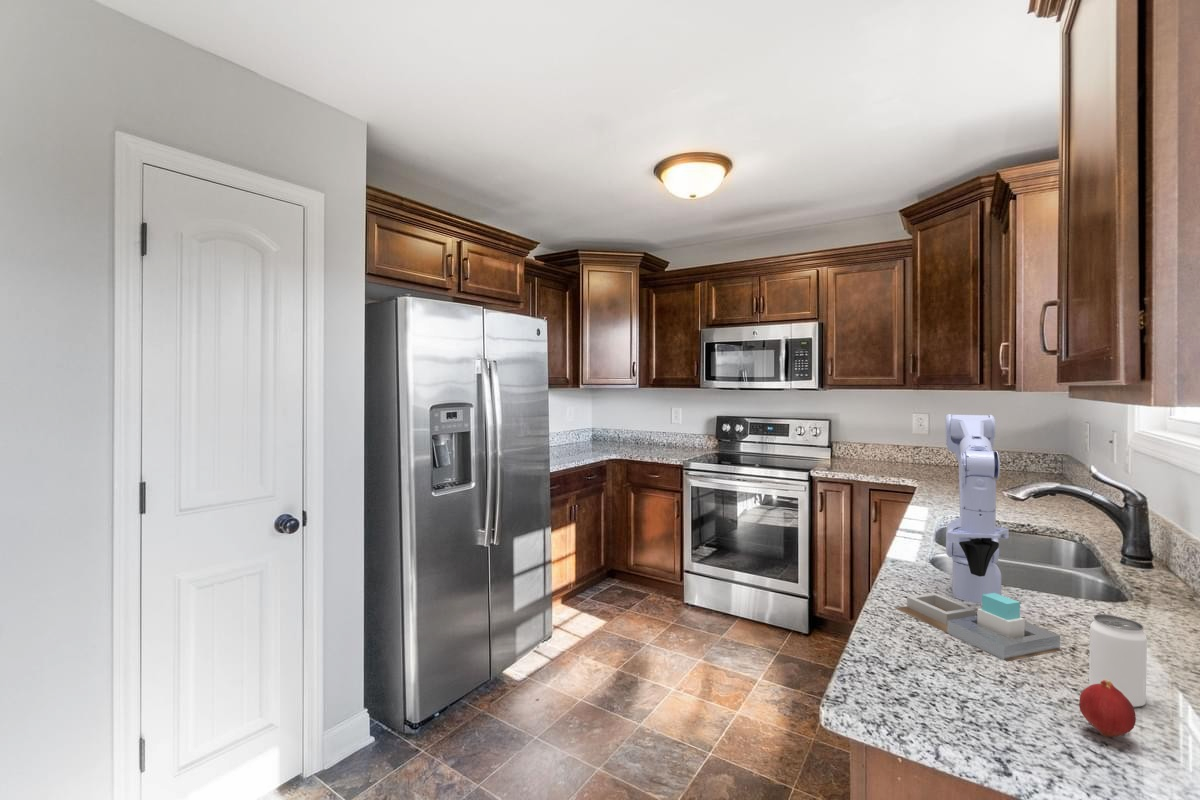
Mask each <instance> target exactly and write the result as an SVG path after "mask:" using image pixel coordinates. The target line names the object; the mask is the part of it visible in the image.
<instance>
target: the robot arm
mask: <svg viewBox="0 0 1200 800" xmlns="http://www.w3.org/2000/svg"><path fill="white" fill-rule="evenodd" d="M995 437H996V418H995V417H994V415H993V414H988V415H986V414H984V415H983V414H951V413H948V414H947V415H946V416H945V446H946V447H947V450H948V451H949V452H952V453H953V454H954V455H955V457H956V459H957V462H958V488H959V489H958V492H959V500H958V501H959V517H957V518H956V519H954V520H951V521H950V522H948V523H947V525H946V532H945V554H946V555H947V556H948V557H949V558H951V559H952V579H951V581H952V583H951V585H952V589H951V591H952V593H951V595H952V596H953V597H955V598H957V599H959V600H962V601H965V602H970V603H974V604H975V603H976V604H982V595H983V594H990V593H996V594H999V595H1002V572H1001V570H1000V568H999V567H998V565H997V564H996V563H997V562H999V558H1000V542H999V539H1009V537H1010V536H1009V535H1010V531H1009V530H1010V529H1009V528H1006V527H1001V526H996V525H997V524H996V523H997V522H996V520H997V519H996V517H997V514H996V513H997V509H996V508H997V481H998V480H999V476H1000V472H1001V462H1000V461H1001V460H1000V455H999V453H998V450H993V447H994V441H995Z"/></svg>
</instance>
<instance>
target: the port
mask: <svg viewBox="0 0 1200 800" xmlns="http://www.w3.org/2000/svg"><path fill="white" fill-rule="evenodd" d="M946 634H949V635H950V634H951V635H950V636H952V635H953V636H952V637H954V636H955V638H956V637H957V639H958V638H959V640H961V641H962V642H965V643H967V644H969V645H971V644H972V645H971V646H973V645H974V646H973V647H975V646H976V647H975V648H977V647H978V649H979V648H980V650H982V651H984V652H986V653H988V654H990V655H992V654H993V656H994V655H995V656H994V657H996V656H997V658H998V657H999V658H998V659H1000V658H1001V659H1000V660H1002V659H1003V660H1002V661H1005V660H1007V659H1012V658H1017V657H1021V656H1026V655H1031V654H1036V653H1041V652H1046V651H1051V650H1056V649H1061V635H1060V634H1058V633H1056V632H1052V631H1051V630H1048V629H1045V628H1043V627H1040V626H1038V625H1035V624H1032V623H1030V622H1028V621H1025V628H1024V637H1021V638H1015V639H1011V638H1008V637H1006V636H1004V635H1002V634H999V633H997V632H995V631H992V630H990V629H988V628H985V627H983V626H981V625H978V624H977V616H971V617H965V618H959V619H952V620H947V633H946Z"/></svg>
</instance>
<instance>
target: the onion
mask: <svg viewBox="0 0 1200 800" xmlns="http://www.w3.org/2000/svg"><path fill="white" fill-rule="evenodd" d="M1078 702H1079V703H1078V706H1079V711H1080V712H1081V714H1082V716H1083V717H1084V719H1085V720H1086V721H1087V722H1088V723H1089V724H1090V725H1091V726H1092V727H1094V728H1095V729H1096V730H1097V731H1098V732H1099V734H1101V735H1102V736H1104V737H1107V738H1113V737H1118V736H1121V735H1125V734H1127V733H1129V732H1131V731H1132V730H1133V729H1134V728H1135V725H1136V722H1137V721H1136V720H1137V718H1136V710H1135V708H1134V707H1133V706H1132V704H1131V703H1130V701H1129V700H1128V699H1127V698H1126V697H1125V696H1124V695H1123V693H1122V692H1120V691H1119V690H1118V689H1116V688H1115V687H1114V686H1113V684H1112V683H1111V682H1110V681H1108V680H1102V681H1101V683H1100V684H1093V685H1091V686H1089V685H1088V686H1087V687H1085V688H1084V689H1083V690H1082V691H1081V693H1080V695H1079V701H1078Z"/></svg>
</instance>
